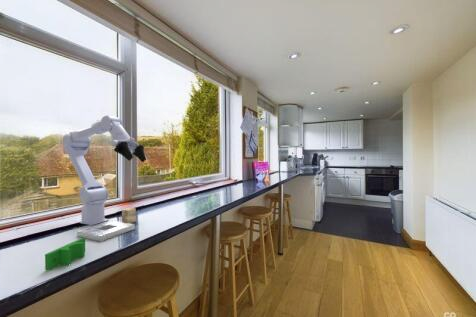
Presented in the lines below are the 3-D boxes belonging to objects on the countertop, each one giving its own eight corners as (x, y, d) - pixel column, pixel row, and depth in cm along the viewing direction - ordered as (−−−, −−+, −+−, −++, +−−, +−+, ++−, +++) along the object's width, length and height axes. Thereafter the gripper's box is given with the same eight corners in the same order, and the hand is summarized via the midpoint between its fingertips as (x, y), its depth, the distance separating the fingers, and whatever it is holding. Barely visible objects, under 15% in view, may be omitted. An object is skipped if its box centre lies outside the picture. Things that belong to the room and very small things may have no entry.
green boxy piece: (57, 272, 54) (57, 255, 54) (45, 271, 55) (44, 254, 55) (92, 252, 65) (92, 237, 65) (82, 251, 66) (81, 237, 66)
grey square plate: (77, 236, 79) (76, 231, 79) (112, 225, 92) (112, 220, 92) (100, 241, 73) (100, 236, 73) (134, 229, 86) (134, 224, 86)
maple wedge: (122, 222, 95) (122, 209, 95) (130, 220, 99) (129, 207, 99) (128, 223, 93) (128, 210, 93) (135, 221, 97) (135, 208, 97)
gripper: (113, 126, 82) (131, 150, 79) (139, 134, 96) (155, 155, 93) (102, 138, 83) (119, 163, 80) (129, 144, 97) (145, 165, 94)
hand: (138, 159), depth 86 cm, fingers open, 7 cm apart
